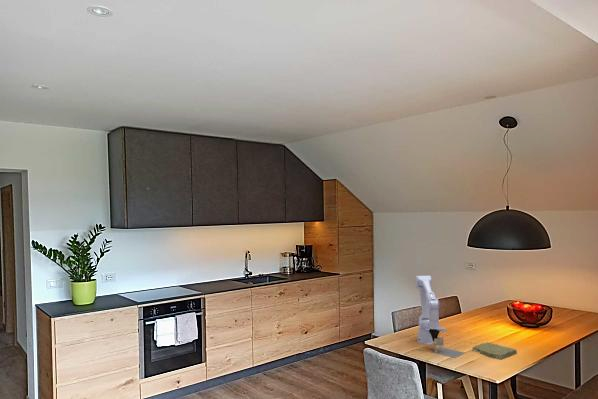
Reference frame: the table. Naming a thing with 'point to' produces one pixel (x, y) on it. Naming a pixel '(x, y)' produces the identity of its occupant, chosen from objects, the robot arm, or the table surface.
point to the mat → (449, 353)
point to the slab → (438, 344)
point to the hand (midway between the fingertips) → (434, 341)
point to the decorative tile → (494, 350)
